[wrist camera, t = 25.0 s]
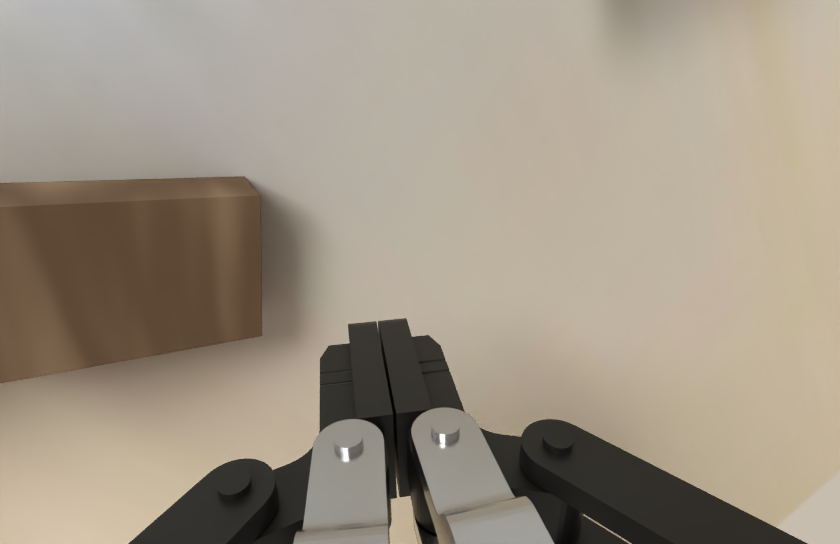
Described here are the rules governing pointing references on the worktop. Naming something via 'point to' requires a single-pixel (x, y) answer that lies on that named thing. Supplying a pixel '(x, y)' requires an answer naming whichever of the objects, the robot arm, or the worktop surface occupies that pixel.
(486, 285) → the worktop surface
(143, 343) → the domino
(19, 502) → the worktop surface
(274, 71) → the worktop surface
